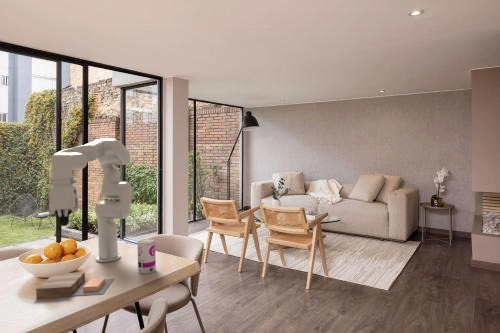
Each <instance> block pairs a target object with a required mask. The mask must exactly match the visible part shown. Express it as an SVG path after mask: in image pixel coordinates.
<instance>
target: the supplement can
mask: <svg viewBox="0 0 500 333" xmlns="http://www.w3.org/2000/svg"><path fill="white" fill-rule="evenodd" d="M156 262H157V261H156V243H155V240H154V239H153V238H144V239H140V240H138V243H137V271H138V273H139V274H144V275H145V274H146V275H148V274H151V273H154V272H155V270H156V269H157V267H156V266H157V264H156Z"/></svg>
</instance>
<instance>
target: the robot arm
mask: <svg viewBox="0 0 500 333" xmlns="http://www.w3.org/2000/svg"><path fill="white" fill-rule="evenodd" d="M97 159H98V162H99V164H100V165H101V168H102V170H103V179H102V184H101V185H102V186H101V197H102V198H104V199H107V200H101V201H100V202H98V203H97V204H96V205H95V209H94V210H95V211H94V212H95V216H96V221H97V232H98V233H97V236H98V237H97V240H98V244H97V245H98V255H97V256H96V257H95V261H96V262H98V263H111V262H115V261H118V260H119V259H121V258H122V255H121V253H118V252H119V251H118V250H119V249H118V247H119V246H118V226H117V223H116V221H115V220H120V219H121V220H122V219H124V220H125V219H126V218H127V219H128V218H129V215H130V211H131V204H132V197H133V187H132V184H131V183H130V182H128V181H121V172H120V170H119V169H118V165H121V166H123V165H124V166H126V165H127V164H128V163H129V162H130V161H131V153H130V151H129V149H127V148H126V146H125V145H124V144H123V143H122V142H121V141H120V140H118V139H117V138H100V139H99V138H98V139H95V140H93V141H91V142H89V143H85V144H84V145H83V144H82V145H78V146H74V147H71V148H65V149H62V150H60V151H58V152H55V153H54V154H52V155H51V158H50V163H51V179H52V181H51V182H52V185H51V187H50V191H49V203H48V204H49V206H48V207H49V212H50V213H53V214H56V215H57V216H58V217H59V224H60V226H61V227H66V226H68V225H69V224H70V217H69V216H70V215H71V214H72V213H75V212H77V211H78V210H79V209H78V207H79V199H78V198H79V197H78V191H77V188H76V185H74V184H76V183H77V179H74V178H73V170H75V171H79V170H82V169H85V168H86V166H87V164H88V163H89V162H93V161H96V160H97ZM108 199H109V200H108Z"/></svg>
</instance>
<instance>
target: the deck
mask: <svg viewBox="0 0 500 333" xmlns="http://www.w3.org/2000/svg"><path fill="white" fill-rule="evenodd" d="M85 274H86V273H85V271H81V272H78V271H77V272H63V273H53V274H52V275H51V276H49V277H48V278H47V279H46V280H45V281H44V282H42V283H41V284H40V285H39V286H38V287H36V289H35V292H36V294H35V295H36V299H47V298H49V299H51V298H64V297H65V298H66V297H69V298H70V297H73V296H72V295H73V294H74V293H75V292H76V291H77V290H78V289H79V287H80V286H81V285H82V284H83V283H84V282H85V281H86V275H85Z"/></svg>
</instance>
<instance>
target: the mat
mask: <svg viewBox="0 0 500 333" xmlns="http://www.w3.org/2000/svg"><path fill="white" fill-rule="evenodd" d="M114 279H115V278H105V283H104V284H103V286H102V287H101V288H100V289H99V291H88V292H83V287H84V286H85V284H86V283H87V282H88V281H89V280H90V279H85V281H84V282H83V284H82V285H81V286H80V287H79V288H78V289H77V290H76V291H75V292H74V294H73V295H72V296H71V297H83V296H84V297H85V296H95V295H97V296H98V295H104V294H105V293H106V291H107V289H109V287H110V286H111V284H112V283H113V281H114Z"/></svg>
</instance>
